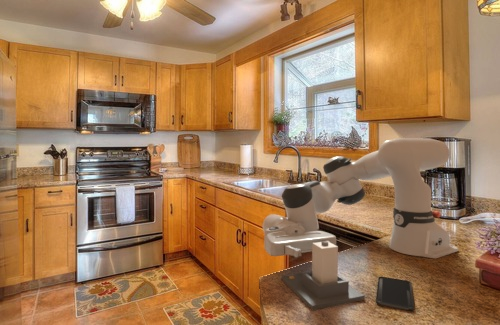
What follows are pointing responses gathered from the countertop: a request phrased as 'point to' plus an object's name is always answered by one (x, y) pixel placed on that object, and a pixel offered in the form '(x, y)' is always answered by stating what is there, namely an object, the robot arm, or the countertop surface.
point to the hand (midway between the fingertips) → (315, 252)
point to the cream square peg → (324, 262)
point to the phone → (395, 294)
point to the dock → (322, 291)
